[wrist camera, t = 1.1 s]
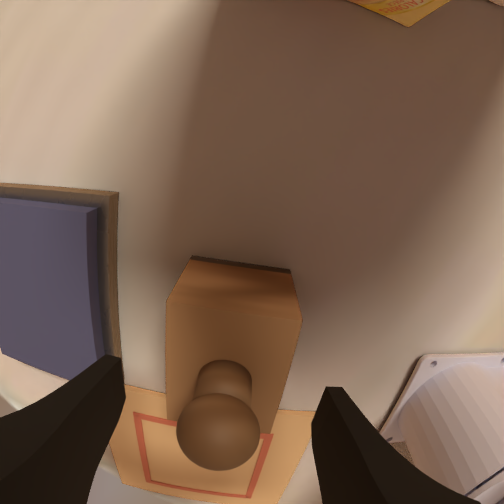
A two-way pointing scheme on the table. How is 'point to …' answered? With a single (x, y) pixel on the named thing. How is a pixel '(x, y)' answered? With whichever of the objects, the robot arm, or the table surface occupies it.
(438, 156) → the table surface
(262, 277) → the stamp
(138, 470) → the card board
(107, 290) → the ink pad
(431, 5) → the candy box
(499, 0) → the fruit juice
